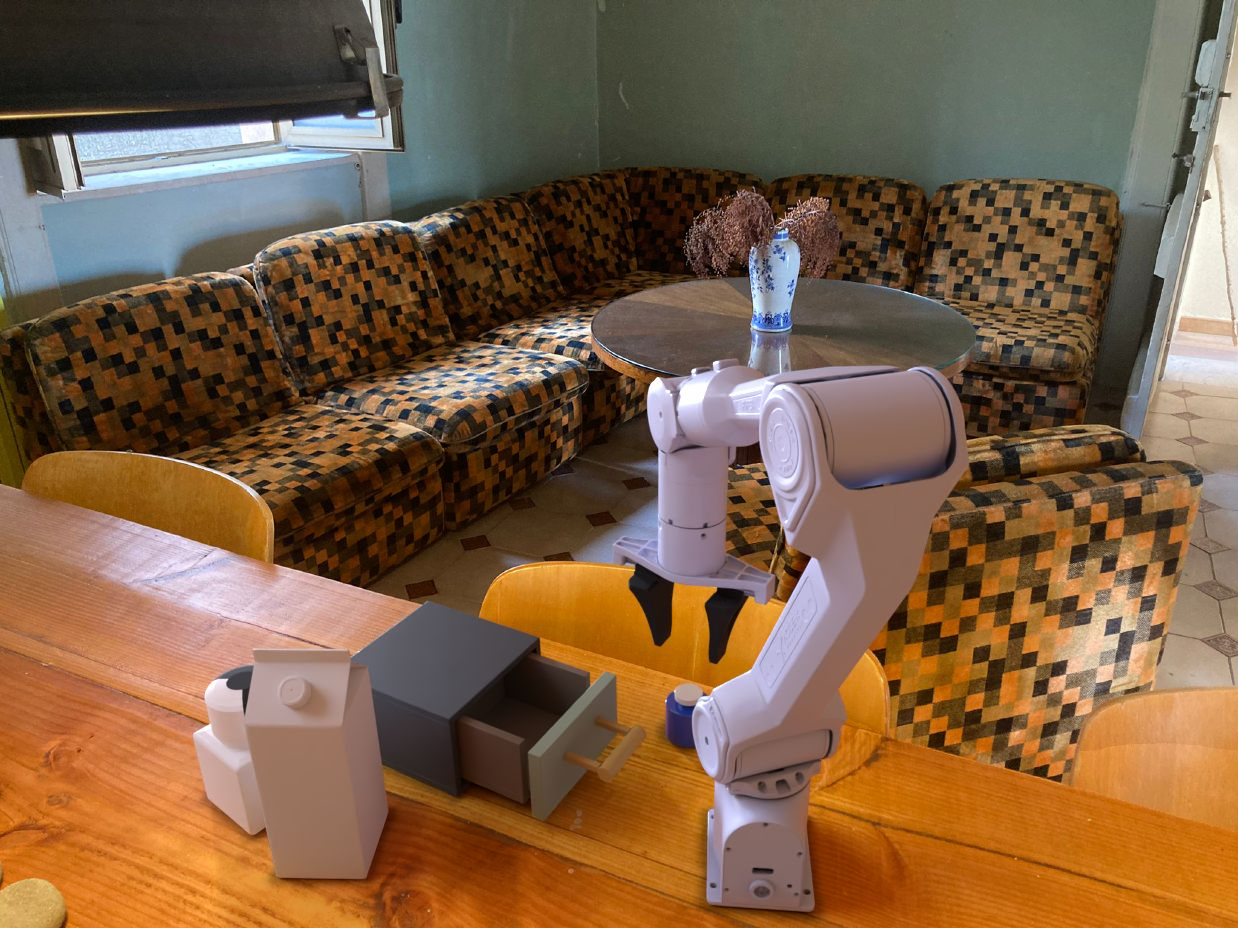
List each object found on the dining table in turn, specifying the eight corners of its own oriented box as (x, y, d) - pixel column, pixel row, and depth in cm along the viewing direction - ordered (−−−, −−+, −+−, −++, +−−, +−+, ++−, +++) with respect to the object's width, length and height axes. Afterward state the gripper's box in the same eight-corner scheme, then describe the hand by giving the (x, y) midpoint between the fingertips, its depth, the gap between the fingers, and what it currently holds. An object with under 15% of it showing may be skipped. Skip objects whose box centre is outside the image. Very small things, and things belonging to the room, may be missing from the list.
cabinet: (544, 709, 93) (540, 637, 90) (457, 797, 83) (449, 719, 79) (435, 669, 99) (428, 600, 96) (342, 747, 89) (329, 671, 85)
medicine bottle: (279, 754, 88) (257, 644, 83) (326, 789, 84) (305, 676, 79) (206, 799, 83) (178, 684, 78) (252, 838, 79) (225, 720, 74)
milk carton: (305, 811, 82) (270, 621, 74) (389, 812, 81) (362, 622, 73) (276, 879, 75) (233, 678, 67) (366, 880, 75) (334, 679, 67)
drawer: (663, 751, 87) (663, 690, 84) (593, 842, 77) (591, 777, 74) (507, 694, 94) (503, 636, 92) (425, 770, 85) (418, 709, 82)
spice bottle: (710, 749, 88) (711, 707, 86) (664, 746, 88) (664, 705, 86) (710, 719, 92) (712, 678, 90) (666, 717, 92) (666, 676, 90)
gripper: (791, 512, 80) (782, 648, 86) (638, 478, 87) (639, 606, 93) (759, 549, 75) (752, 691, 80) (599, 509, 81) (602, 643, 87)
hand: (689, 648), depth 86 cm, fingers open, 5 cm apart
